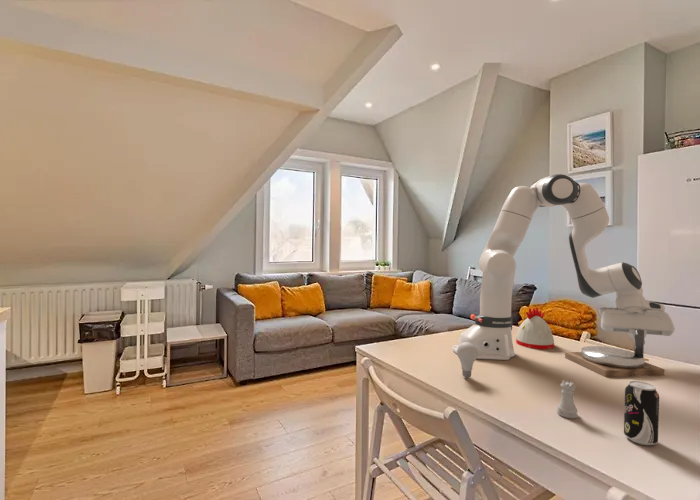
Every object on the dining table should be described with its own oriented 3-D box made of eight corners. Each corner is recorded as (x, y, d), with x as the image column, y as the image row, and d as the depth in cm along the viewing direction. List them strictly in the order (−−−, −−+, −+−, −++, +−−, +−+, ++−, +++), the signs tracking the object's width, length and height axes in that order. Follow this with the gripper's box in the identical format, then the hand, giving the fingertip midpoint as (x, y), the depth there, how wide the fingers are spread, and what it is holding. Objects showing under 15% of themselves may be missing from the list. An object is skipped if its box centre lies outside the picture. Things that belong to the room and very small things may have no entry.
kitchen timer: (509, 340, 157) (509, 305, 157) (536, 339, 160) (537, 304, 160) (532, 350, 144) (533, 311, 143) (562, 348, 147) (563, 310, 146)
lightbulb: (477, 375, 116) (477, 340, 115) (477, 382, 110) (477, 346, 110) (456, 373, 118) (457, 338, 117) (455, 380, 112) (456, 344, 112)
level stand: (605, 376, 116) (605, 369, 116) (565, 357, 135) (565, 351, 135) (664, 375, 117) (664, 368, 117) (616, 356, 136) (616, 350, 136)
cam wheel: (585, 363, 121) (586, 330, 121) (577, 349, 138) (578, 319, 137) (657, 372, 114) (659, 336, 114) (640, 356, 130) (640, 324, 130)
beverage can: (616, 433, 81) (618, 379, 81) (641, 433, 82) (643, 379, 81) (638, 448, 76) (640, 390, 75) (665, 447, 76) (667, 389, 76)
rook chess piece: (552, 410, 92) (553, 379, 92) (569, 410, 92) (570, 378, 92) (564, 419, 88) (565, 386, 87) (582, 419, 88) (583, 385, 88)
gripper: (598, 301, 135) (604, 335, 126) (669, 305, 126) (681, 341, 118) (596, 311, 139) (601, 344, 131) (664, 315, 131) (675, 351, 122)
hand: (639, 343), depth 124 cm, fingers closed, pressing on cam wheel
